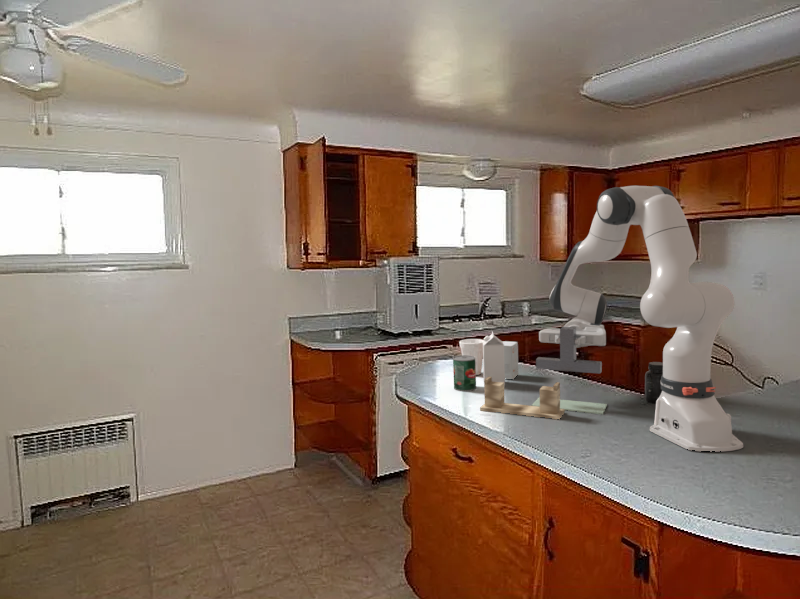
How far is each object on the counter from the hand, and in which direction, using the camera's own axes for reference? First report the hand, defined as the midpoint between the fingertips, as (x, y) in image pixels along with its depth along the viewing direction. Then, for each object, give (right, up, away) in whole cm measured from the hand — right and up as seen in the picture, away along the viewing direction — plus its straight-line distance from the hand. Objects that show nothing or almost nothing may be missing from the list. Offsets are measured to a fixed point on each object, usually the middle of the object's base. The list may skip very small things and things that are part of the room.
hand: (567, 341), depth 166 cm
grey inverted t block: (+1, -9, +2) cm, 9 cm away
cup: (-22, -17, +47) cm, 55 cm away
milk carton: (-17, -18, +32) cm, 40 cm away
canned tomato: (-28, -19, +28) cm, 44 cm away
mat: (+1, -20, +3) cm, 20 cm away
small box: (-10, -17, +41) cm, 45 cm away
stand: (-14, -21, 0) cm, 25 cm away
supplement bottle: (+29, -19, +4) cm, 35 cm away
